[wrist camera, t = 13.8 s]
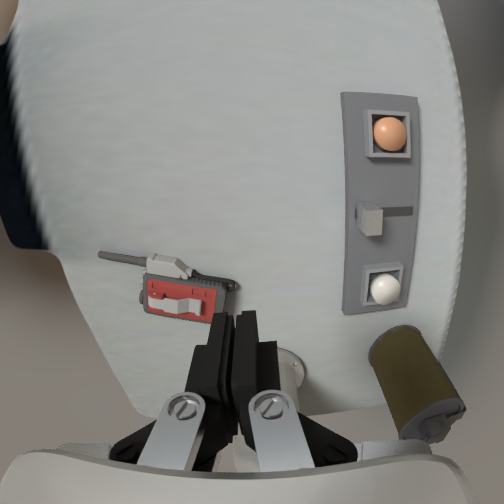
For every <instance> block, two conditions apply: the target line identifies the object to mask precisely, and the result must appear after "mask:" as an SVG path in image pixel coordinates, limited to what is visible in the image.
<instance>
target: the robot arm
mask: <svg viewBox="0 0 504 504" xmlns="http://www.w3.org/2000/svg"><path fill="white" fill-rule="evenodd" d="M303 380H304V368H303V364H302V363H301V361H300V360H299V358H298V357H297V356H295V355H294V354H292V353H291V352H289V351H286V350H283V349H279V348H277V341H269V342H259V338H258V328H257V319H256V311H255V310H252V311H242V314H241V315H237V317H236V328H235V325H234V318H233V315H230V316H228V313H227V312H220V313H213V317H212V322H211V327H210V332H209V337H208V342H207V345H196V346H195V349H194V353H193V358H192V362H191V366H190V370H189V374H188V379H187V383H186V387H185V392H182V393H177V394H175V395H173V396H171V397H170V398H169V399H168V400H167V401H166V402H165V404H164V406H163V408H162V410H161V412H160V414H159V417H158V419H157V420H156V421H154V422H152V423H150V424H149V425H147V426H145V427H143V428H142V429H140V430H138V431H137V432H135V433H133V434H131V435H129V436H128V437H126V438H124V439H122V440H120V441H119V442H117V443H116V444H115V445H113V446H111V445H110V444H109V443H97V444H96V443H94V444H93V443H87V444H86V443H66V444H62V445H60V446H59V447H58V448H57V449H37V450H30V451H26V452H23V453H21V454H20V455H18V456H17V457H16V458H15V459H14V461H13V462H12V463H11V465H10V466H9V468H8V470H7V472H6V473H5V475H4V477H3V479H2V481H1V483H0V504H479V502H478V499H477V496H476V494H475V492H474V490H473V487H472V485H471V483H470V481H469V479H468V478H467V476H466V474H465V473H464V471H463V470H462V469H461V467H460V466H459V465H458V464H457V463H456V462H454V461H453V460H452V459H450V458H447V457H444V456H440V455H434V454H432V450H431V447H430V446H429V445H428V444H427V443H426V442H425V441H422V440H419V439H409V440H393V441H363V443H362V444H353V443H352V442H350V441H349V440H348V439H346V438H344V437H342V436H340V435H338V434H336V433H334V432H333V431H331V430H329V429H327V428H325V427H323V426H322V425H320V424H318V423H316V422H315V421H313V420H311V419H309V418H308V417H306V416H304V415H303V414H301V413H300V407H299V400H298V392H297V389H298V388H299V387H300V385H301V384H302V382H303ZM234 435H235V437H234V455H233V457H234V465H235V467H236V469H237V471H238V473H226V472H223V473H222V472H217V468H218V464H219V461H220V458H221V450H222V449H223V448H224V447H226V446H227V445H228V443H232V440H233V436H234Z"/></svg>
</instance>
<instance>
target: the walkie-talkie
mask: <svg viewBox="0 0 504 504" xmlns="http://www.w3.org/2000/svg"><path fill="white" fill-rule="evenodd" d="M98 257H99V258H103V259H108V260H114V261H120V262H125V263H131V264H137V265H139V266H144V267H147V269H146V270H143V275H144V276H143V278H141V280H140V284H143V290H142V291H141V293H140V297H139V301H140V303H141V304H143V307H144V311H145V312H146V313H149V314H154V315H159V316H165V317H170V318H178V319H182V320H183V319H184V320H189V321H196V322H201V323H208V324H211V322H212V317H213V313H220V312H223V309H224V301H225V294H226V291H233V290H234V288H235V282H234V281H232V280H230V279H225V278H219V277H212V276H205V275H200V274H198V273H196V272H194V271H193V269H190V268H188V267H187V266H186V265H185V264H184V263H183V262H182V261H181V260H179V259H178V258H173V257H167V256H160V255H157V254H154V253H150V255H149V256H148V258H147V257H135V256H129V255H123V254H117V253H109V252H103V251H99V252H98ZM227 283H229V284H231V285H232V287H227Z"/></svg>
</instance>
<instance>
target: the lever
mask: <svg viewBox="0 0 504 504" xmlns="http://www.w3.org/2000/svg"><path fill="white" fill-rule="evenodd" d="M382 221H383V210H382V209H381V208H380V207H378V206H377V205H375V204H374V203H373V202H361V203H357V227H358V228H359V229H360V230H361V231H362V232H363V233H364V234H365V236H374V235H382Z"/></svg>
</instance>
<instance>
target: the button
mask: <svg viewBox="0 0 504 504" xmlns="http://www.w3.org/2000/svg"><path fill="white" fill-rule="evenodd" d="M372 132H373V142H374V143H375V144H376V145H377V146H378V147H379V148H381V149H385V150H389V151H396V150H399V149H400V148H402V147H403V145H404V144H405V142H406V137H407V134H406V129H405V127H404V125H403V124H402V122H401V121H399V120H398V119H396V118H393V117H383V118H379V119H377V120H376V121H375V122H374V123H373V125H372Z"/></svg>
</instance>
